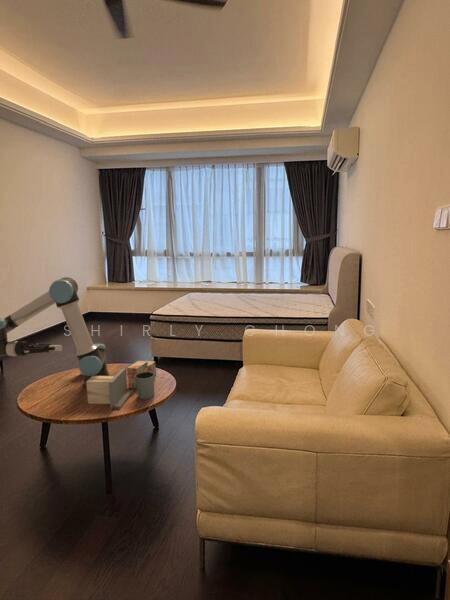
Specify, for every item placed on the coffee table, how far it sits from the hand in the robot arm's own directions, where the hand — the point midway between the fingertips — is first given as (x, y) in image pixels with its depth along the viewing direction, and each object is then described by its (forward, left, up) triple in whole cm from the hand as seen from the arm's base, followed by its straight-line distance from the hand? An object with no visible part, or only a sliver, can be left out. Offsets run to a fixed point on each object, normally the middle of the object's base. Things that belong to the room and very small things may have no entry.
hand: (61, 347), depth 200 cm
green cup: (-5, +42, -28) cm, 51 cm away
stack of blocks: (-26, +34, -28) cm, 51 cm away
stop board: (+1, +31, -28) cm, 42 cm away
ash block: (+1, +21, -28) cm, 35 cm away
